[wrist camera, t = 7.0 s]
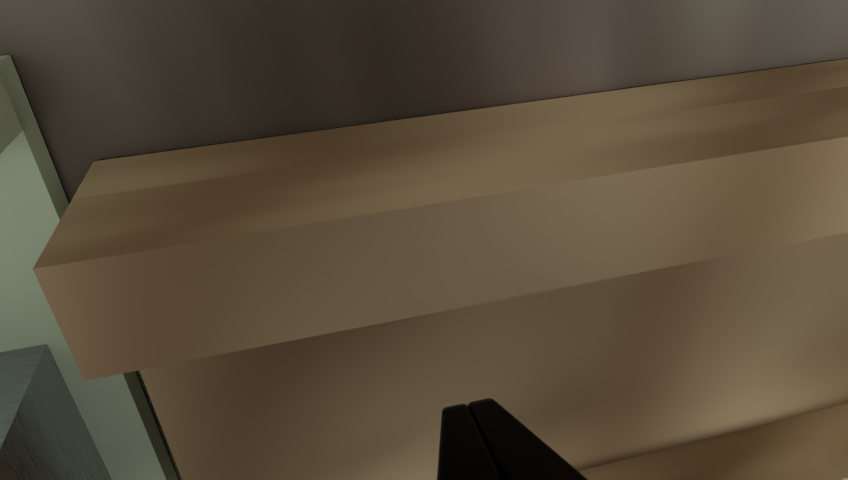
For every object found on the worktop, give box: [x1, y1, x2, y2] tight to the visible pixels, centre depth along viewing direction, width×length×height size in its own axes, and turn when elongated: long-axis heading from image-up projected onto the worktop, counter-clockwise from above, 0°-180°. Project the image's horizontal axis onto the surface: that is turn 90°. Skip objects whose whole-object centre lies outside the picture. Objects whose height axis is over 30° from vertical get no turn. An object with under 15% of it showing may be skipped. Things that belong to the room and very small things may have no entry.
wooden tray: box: [33, 59, 848, 480], centre depth 11 cm, size 18×9×3 cm, turn 93°
